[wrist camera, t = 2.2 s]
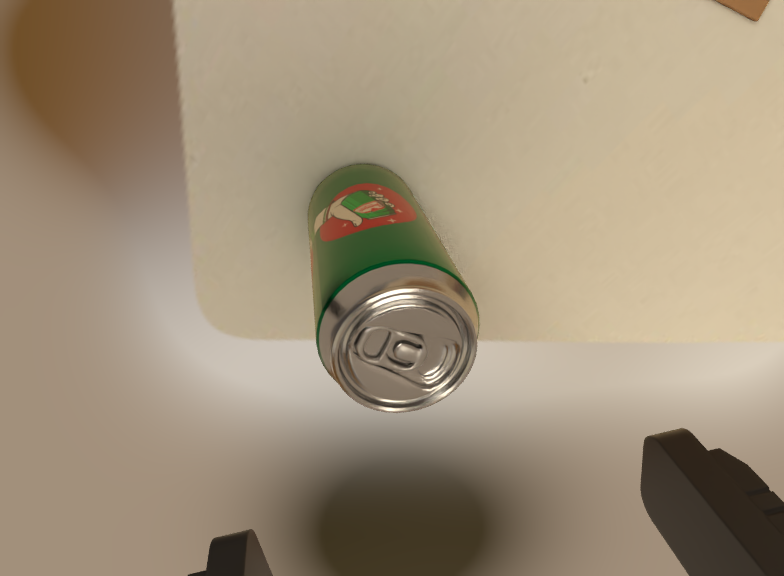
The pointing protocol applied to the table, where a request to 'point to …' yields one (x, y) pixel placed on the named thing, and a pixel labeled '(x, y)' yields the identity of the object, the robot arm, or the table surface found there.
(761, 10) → the kraft paper
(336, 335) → the soda can
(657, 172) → the table surface
